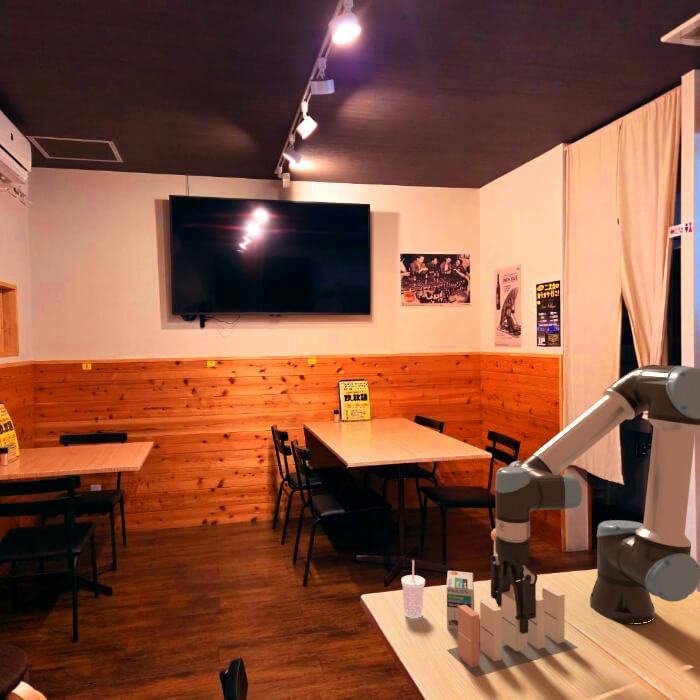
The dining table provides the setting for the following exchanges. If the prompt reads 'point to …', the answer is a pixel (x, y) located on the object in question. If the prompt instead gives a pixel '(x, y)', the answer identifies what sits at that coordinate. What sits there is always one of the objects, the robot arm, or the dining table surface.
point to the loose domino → (509, 620)
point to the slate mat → (513, 656)
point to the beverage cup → (413, 594)
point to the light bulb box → (458, 595)
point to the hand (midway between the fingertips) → (512, 639)
